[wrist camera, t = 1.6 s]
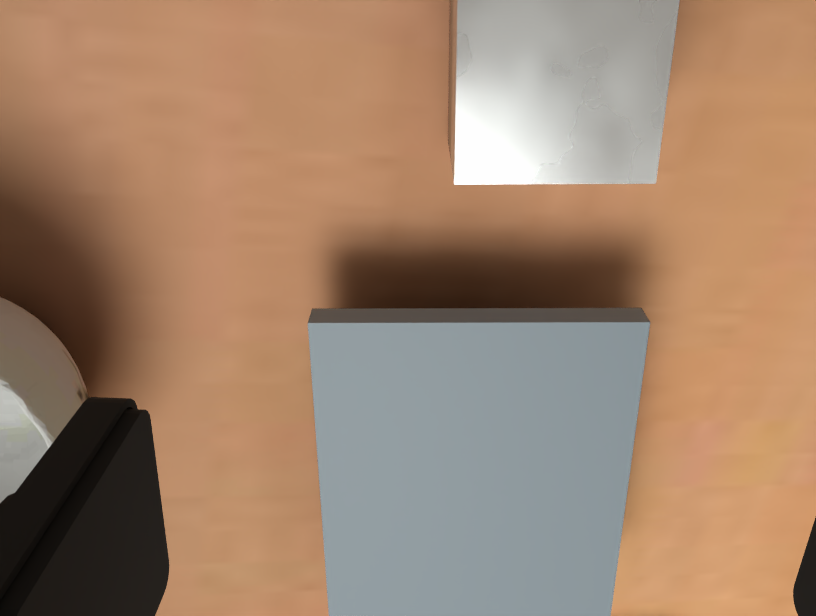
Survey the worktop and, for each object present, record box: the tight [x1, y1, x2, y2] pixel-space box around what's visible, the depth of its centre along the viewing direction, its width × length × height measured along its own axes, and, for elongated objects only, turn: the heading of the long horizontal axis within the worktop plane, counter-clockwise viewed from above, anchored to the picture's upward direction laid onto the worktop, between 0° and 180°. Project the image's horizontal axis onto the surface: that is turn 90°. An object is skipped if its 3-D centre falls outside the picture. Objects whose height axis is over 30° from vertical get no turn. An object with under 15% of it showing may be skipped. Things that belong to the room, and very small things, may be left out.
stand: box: [308, 308, 650, 616], centre depth 32 cm, size 14×12×4 cm
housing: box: [448, 0, 680, 184], centre depth 24 cm, size 7×6×6 cm
